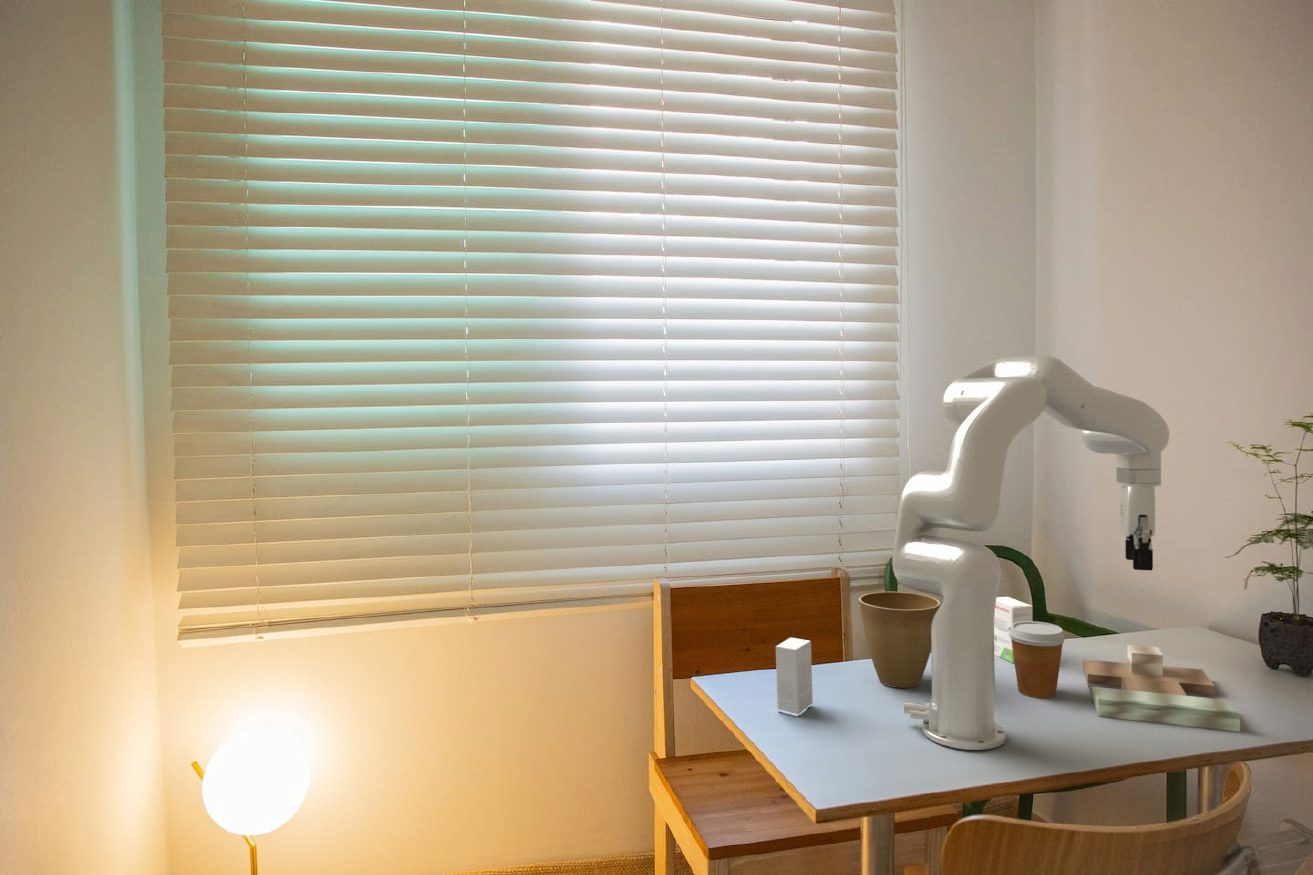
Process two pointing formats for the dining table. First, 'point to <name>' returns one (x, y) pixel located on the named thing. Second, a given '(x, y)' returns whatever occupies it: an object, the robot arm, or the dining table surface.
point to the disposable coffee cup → (1037, 657)
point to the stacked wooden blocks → (1158, 696)
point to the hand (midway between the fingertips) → (1138, 564)
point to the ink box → (1008, 624)
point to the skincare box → (794, 675)
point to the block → (1145, 660)
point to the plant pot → (898, 634)
